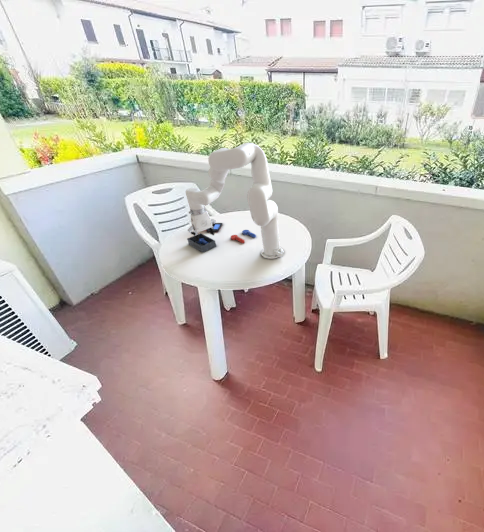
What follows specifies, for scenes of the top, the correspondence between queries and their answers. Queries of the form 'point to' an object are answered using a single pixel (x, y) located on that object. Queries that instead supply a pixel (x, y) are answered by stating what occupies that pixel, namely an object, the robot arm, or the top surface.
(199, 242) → the blue spoon
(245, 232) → the blue spoon
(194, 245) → the bin
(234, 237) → the red spoon
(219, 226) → the handheld console
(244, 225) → the top surface
